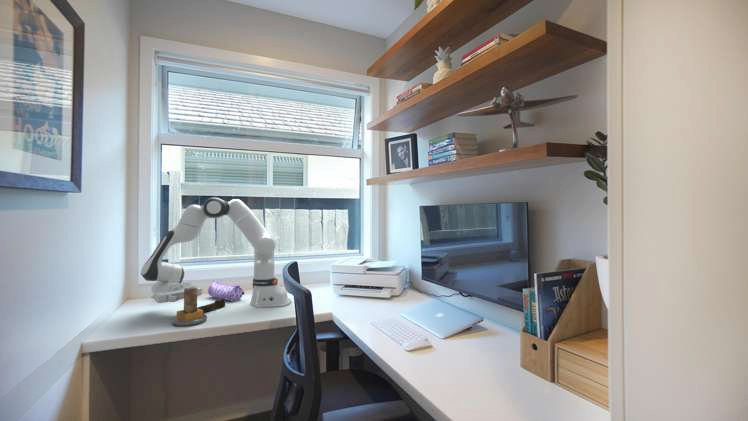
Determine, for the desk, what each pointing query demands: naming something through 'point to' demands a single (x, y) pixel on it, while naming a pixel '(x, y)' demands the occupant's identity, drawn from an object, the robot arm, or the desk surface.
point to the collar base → (189, 318)
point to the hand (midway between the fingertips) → (187, 296)
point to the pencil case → (225, 291)
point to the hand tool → (213, 305)
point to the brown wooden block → (190, 300)
